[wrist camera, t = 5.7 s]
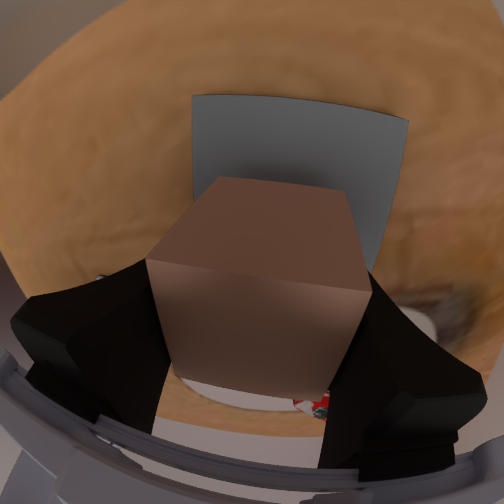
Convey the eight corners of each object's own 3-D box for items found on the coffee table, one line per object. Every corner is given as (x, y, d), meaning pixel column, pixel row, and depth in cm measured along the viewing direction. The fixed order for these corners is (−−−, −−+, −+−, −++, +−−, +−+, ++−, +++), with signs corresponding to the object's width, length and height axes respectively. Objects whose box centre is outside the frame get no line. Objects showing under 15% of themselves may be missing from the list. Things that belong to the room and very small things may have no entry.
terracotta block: (322, 289, 13) (320, 402, 8) (220, 274, 14) (176, 376, 9) (343, 191, 10) (372, 292, 5) (219, 176, 11) (145, 258, 6)
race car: (393, 391, 30) (396, 417, 26) (367, 408, 33) (368, 432, 29) (310, 369, 29) (308, 399, 25) (288, 388, 32) (284, 415, 28)
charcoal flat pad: (358, 268, 21) (363, 293, 19) (210, 248, 22) (198, 270, 20) (393, 115, 14) (408, 120, 12) (209, 94, 16) (191, 95, 13)
